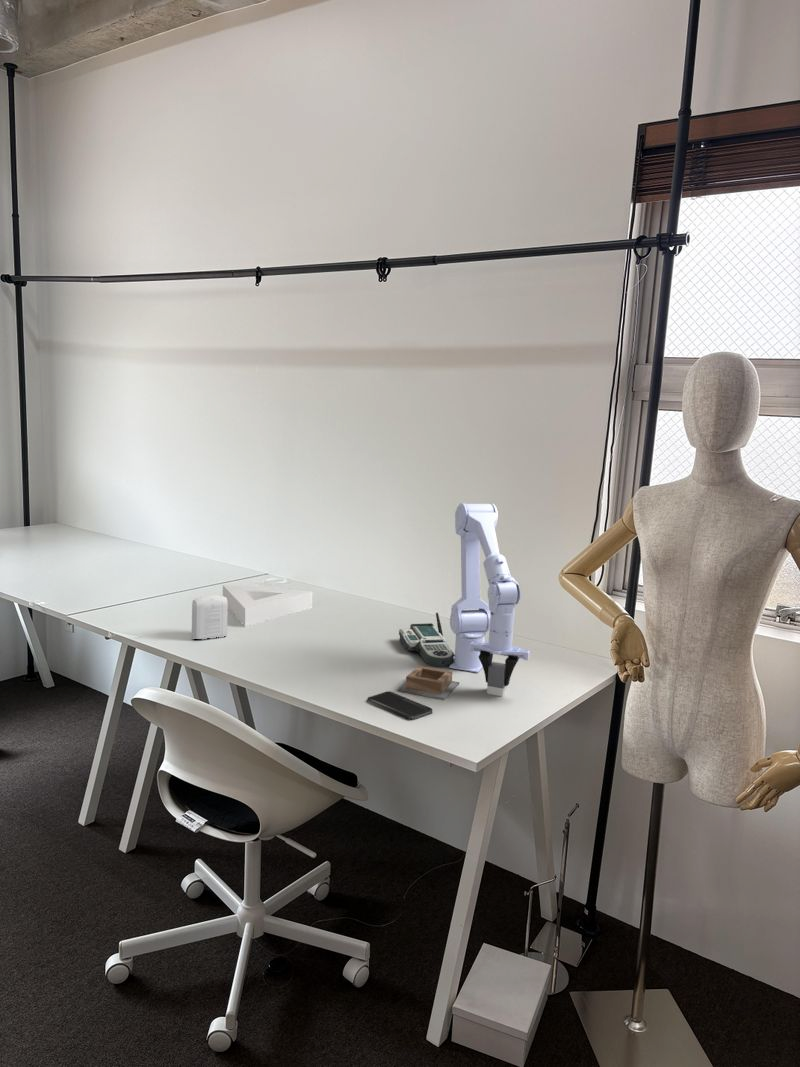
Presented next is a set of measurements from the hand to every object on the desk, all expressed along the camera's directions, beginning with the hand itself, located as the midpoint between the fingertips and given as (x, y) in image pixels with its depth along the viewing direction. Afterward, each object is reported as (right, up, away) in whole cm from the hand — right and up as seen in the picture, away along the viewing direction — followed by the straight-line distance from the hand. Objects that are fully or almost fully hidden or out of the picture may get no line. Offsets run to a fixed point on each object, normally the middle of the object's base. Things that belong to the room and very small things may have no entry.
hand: (497, 682), depth 207 cm
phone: (-24, -4, -12) cm, 27 cm away
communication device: (-16, +3, +28) cm, 32 cm away
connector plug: (0, -2, 0) cm, 2 cm away
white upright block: (-78, +7, +33) cm, 85 cm away
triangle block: (-69, +10, +57) cm, 90 cm away
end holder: (-17, -1, +1) cm, 17 cm away
